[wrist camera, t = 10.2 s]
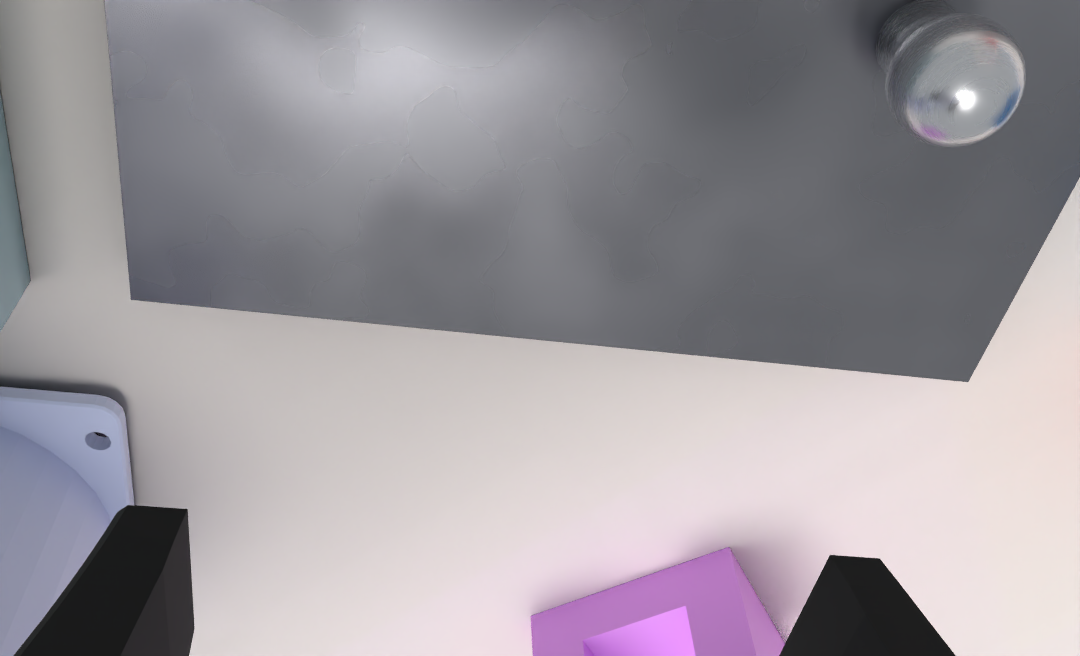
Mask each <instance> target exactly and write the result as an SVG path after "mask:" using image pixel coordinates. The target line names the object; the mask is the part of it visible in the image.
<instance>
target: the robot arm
mask: <svg viewBox="0 0 1080 656" xmlns="http://www.w3.org/2000/svg"><path fill="white" fill-rule="evenodd" d="M93 432H99V433H103V434H105V435H106V436H107V437H101V436H98V435H96V434H95V433H93ZM193 633H194V614H193V596H192V579H191V562H190V544H189V527H188V510H187V509H177V508H163V507H149V506H135V505H134V496H133V486H132V476H131V467H130V457H129V447H128V437H127V427H126V418H125V413H124V410H123V408H122V407H121V406H120V405H119V404H118V403H117V402H116V401H115V400H113V399H111V398H109V397H105V396H101V395H94V394H82V393H70V392H58V391H47V390H35V389H23V388H12V387H0V656H189V653H190V648H191V643H192V638H193ZM779 656H955V654H954V653H953V652H952V651H951V649H950V648H949V647H948V645H947V644H946V643H945V642H944V640H943V639H942V638H941V637H940V635H939V634H938V633H937V631H936V630H935V629H934V628H933V626H932V625H931V624H930V622H929V621H928V620H927V618H926V617H925V616H924V615H923V613H922V612H921V611H920V609H919V608H918V607H917V606H916V604H915V603H914V602H913V600H912V599H911V598H910V596H909V595H908V594H907V593H906V591H905V590H904V589H903V587H902V586H901V585H900V584H899V582H898V581H897V580H896V579H895V577H894V576H893V575H892V573H891V572H890V571H889V570H888V568H887V567H886V566H885V565H884V563H883V562H882V561H881V560H880V559H878V558H864V557H850V556H836V555H830V556H829V558H828V560H827V562H826V564H825V566H824V568H823V570H822V572H821V574H820V576H819V578H818V580H817V582H816V584H815V586H814V588H813V590H812V592H811V594H810V596H809V598H808V600H807V602H806V604H805V606H804V608H803V610H802V612H801V614H800V615H799V617H798V619H797V621H796V623H795V625H794V627H793V629H792V631H791V633H790V635H789V637H788V639H787V641H786V643H785V645H784V647H783V649H782V651H781V653H780V655H779Z"/></svg>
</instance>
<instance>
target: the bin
mask: <svg viewBox="0 0 1080 656" xmlns="http://www.w3.org/2000/svg"><path fill="white" fill-rule="evenodd" d="M29 283H30V275H29V268H28V262H27V256H26V250H25V243H24V237H23V231H22V224H21V218H20V212H19V206H18V199H17V193H16V187H15V181H14V174H13V168H12V162H11V156H10V149H9V143H8V137H7V131H6V124H5V118H4V112H3V105H2V99H1V93H0V332H1V330H2V328H3V327H4V325H5V323H6V322H7V320H8V318H9V316H10V315H11V313H12V311H13V310H14V308H15V306H16V305H17V303H18V301H19V300H20V298H21V296H22V294H23V293H24V291H25V289H26V288H27V286H28V284H29Z"/></svg>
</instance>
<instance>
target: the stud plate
mask: <svg viewBox="0 0 1080 656" xmlns="http://www.w3.org/2000/svg"><path fill="white" fill-rule="evenodd" d="M104 2H105V13H106V25H107V36H108V47H109V58H110V69H111V80H112V92H113V103H114V114H115V125H116V136H117V148H118V159H119V170H120V181H121V192H122V203H123V215H124V226H125V237H126V248H127V259H128V270H129V282H130V293H131V300H139V301H150V302H160V303H170V304H180V305H190V306H200V307H211V308H221V309H231V310H241V311H251V312H261V313H272V314H282V315H292V316H302V317H312V318H322V319H332V320H343V321H353V322H363V323H373V324H383V325H393V326H404V327H414V328H424V329H434V330H444V331H454V332H465V333H475V334H485V335H495V336H505V337H515V338H526V339H536V340H546V341H556V342H566V343H576V344H587V345H597V346H607V347H617V348H627V349H637V350H648V351H658V352H668V353H678V354H688V355H698V356H709V357H719V358H729V359H739V360H749V361H759V362H770V363H780V364H790V365H800V366H810V367H820V368H831V369H841V370H851V371H861V372H871V373H881V374H891V375H902V376H912V377H922V378H932V379H942V380H952V381H963V382H968V381H969V380H970V378H971V376H972V374H973V372H974V370H975V368H976V367H977V365H978V363H979V361H980V359H981V357H982V356H983V354H984V352H985V350H986V348H987V346H988V345H989V343H990V341H991V339H992V337H993V335H994V334H995V332H996V330H997V328H998V326H999V324H1000V323H1001V321H1002V319H1003V317H1004V315H1005V313H1006V312H1007V310H1008V308H1009V306H1010V304H1011V302H1012V301H1013V299H1014V297H1015V295H1016V293H1017V291H1018V290H1019V288H1020V286H1021V284H1022V282H1023V280H1024V278H1025V277H1026V275H1027V273H1028V271H1029V269H1030V267H1031V266H1032V264H1033V262H1034V260H1035V258H1036V256H1037V255H1038V253H1039V251H1040V249H1041V247H1042V245H1043V244H1044V242H1045V240H1046V238H1047V236H1048V234H1049V233H1050V231H1051V229H1052V227H1053V225H1054V223H1055V222H1056V220H1057V218H1058V216H1059V214H1060V212H1061V211H1062V209H1063V207H1064V205H1065V203H1066V201H1067V200H1068V198H1069V196H1070V194H1071V192H1072V190H1073V189H1074V187H1075V185H1076V183H1077V181H1078V179H1079V177H1080V0H104Z"/></svg>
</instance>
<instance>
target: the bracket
mask: <svg viewBox="0 0 1080 656" xmlns="http://www.w3.org/2000/svg"><path fill="white" fill-rule="evenodd" d="M531 629H532V648H533V656H779V655H780V653H781V651H782V649H783V647H784V645H785V643H784V641H783V639H782V638H781V636H780V634H779V632H778V631H777V629H776V627H775V626H774V624H773V622H772V620H771V619H770V617H769V615H768V613H767V612H766V610H765V608H764V607H763V605H762V603H761V601H760V600H759V598H758V596H757V594H756V593H755V591H754V589H753V587H752V586H751V584H750V582H749V581H748V579H747V577H746V575H745V574H744V572H743V570H742V568H741V567H740V565H739V563H738V562H737V560H736V558H735V556H734V555H733V553H732V551H731V549H730V548H729V547H727V548H725V549H722V550H719V551H716V552H713V553H710V554H707V555H704V556H702V557H699V558H696V559H693V560H690V561H687V562H684V563H681V564H679V565H676V566H673V567H670V568H667V569H664V570H661V571H658V572H656V573H653V574H650V575H647V576H644V577H641V578H638V579H635V580H633V581H630V582H627V583H624V584H621V585H618V586H615V587H612V588H610V589H607V590H604V591H601V592H598V593H595V594H592V595H590V596H587V597H584V598H581V599H578V600H575V601H572V602H569V603H567V604H564V605H561V606H558V607H555V608H552V609H549V610H546V611H544V612H541V613H538V614H535V615H532V616H531Z"/></svg>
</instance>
